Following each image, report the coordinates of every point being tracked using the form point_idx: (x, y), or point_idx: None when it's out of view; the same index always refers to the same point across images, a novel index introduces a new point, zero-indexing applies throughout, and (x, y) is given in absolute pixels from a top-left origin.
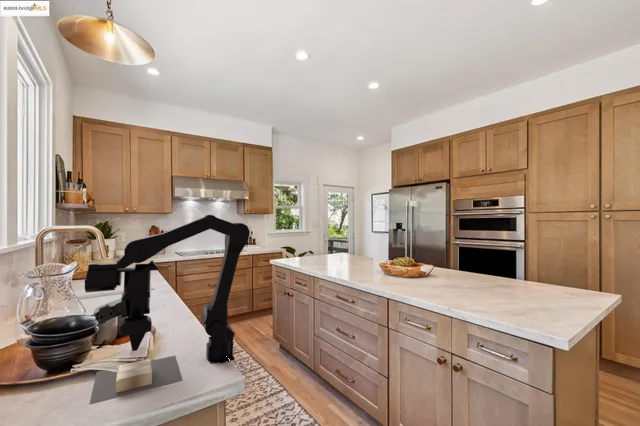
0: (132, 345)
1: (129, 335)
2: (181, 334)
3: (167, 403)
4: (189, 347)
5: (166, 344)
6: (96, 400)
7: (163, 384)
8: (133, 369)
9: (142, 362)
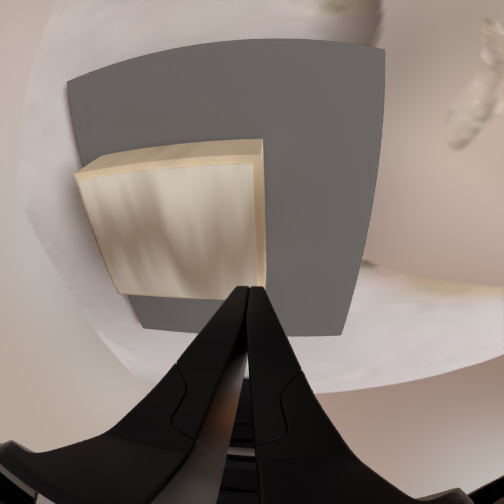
0: (214, 323)
1: (133, 409)
2: (480, 336)
3: (63, 280)
4: (383, 356)
5: (461, 308)
6: (80, 97)
7: None
8: (160, 237)
9: (230, 274)
